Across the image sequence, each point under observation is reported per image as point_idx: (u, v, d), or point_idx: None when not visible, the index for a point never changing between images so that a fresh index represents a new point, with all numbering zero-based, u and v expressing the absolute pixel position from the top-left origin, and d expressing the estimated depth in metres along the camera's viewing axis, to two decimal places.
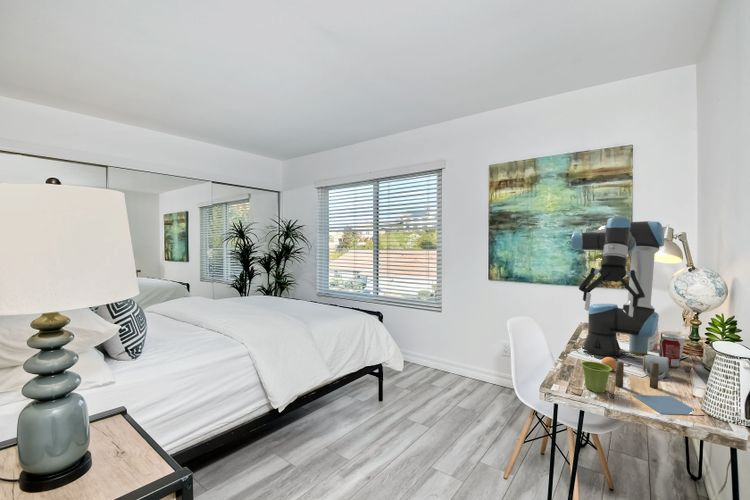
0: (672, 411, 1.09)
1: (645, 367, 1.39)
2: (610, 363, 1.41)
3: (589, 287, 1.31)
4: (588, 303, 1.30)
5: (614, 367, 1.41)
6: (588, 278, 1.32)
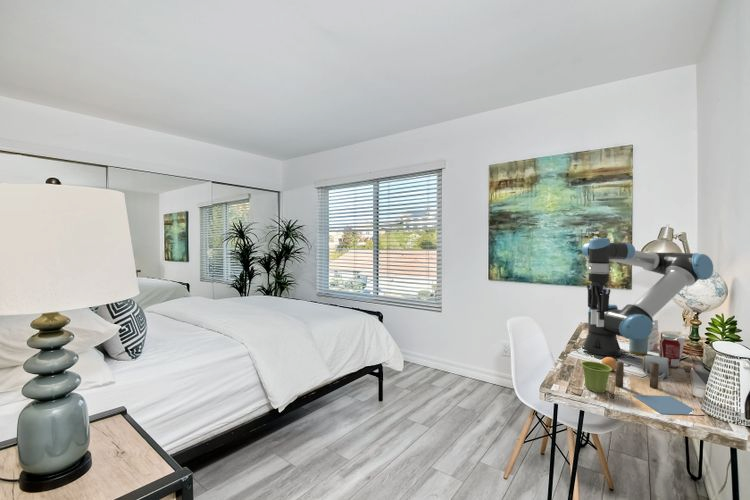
0: (672, 411, 1.09)
1: (645, 367, 1.39)
2: (610, 363, 1.41)
3: (591, 304, 1.55)
4: (594, 318, 1.54)
5: (614, 367, 1.41)
6: (588, 295, 1.57)
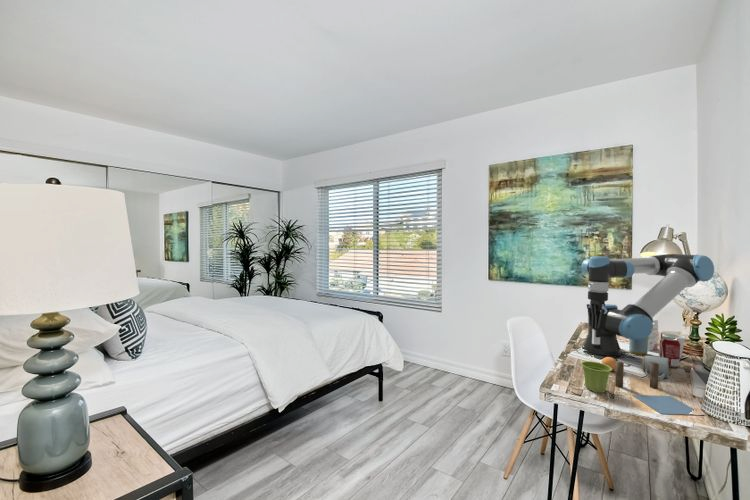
0: (672, 411, 1.09)
1: (645, 367, 1.39)
2: (610, 363, 1.41)
3: (592, 323, 1.54)
4: None
5: (614, 367, 1.41)
6: (589, 314, 1.56)
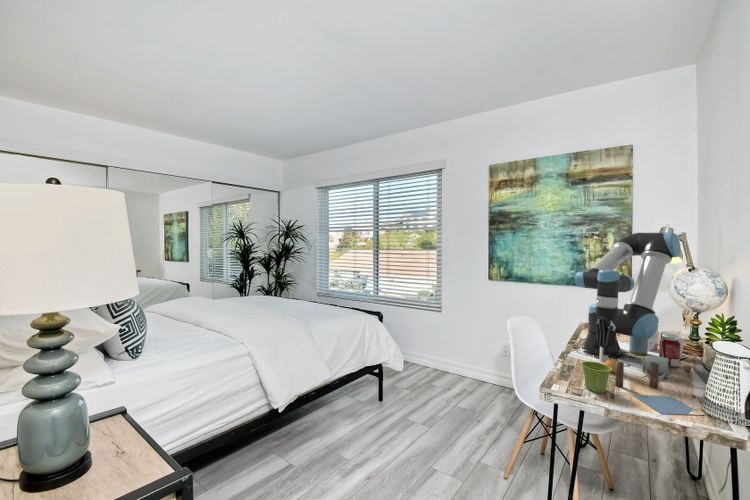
0: (672, 411, 1.09)
1: (645, 368, 1.39)
2: (613, 368, 1.39)
3: (600, 340, 1.46)
4: None
5: None
6: (597, 330, 1.49)
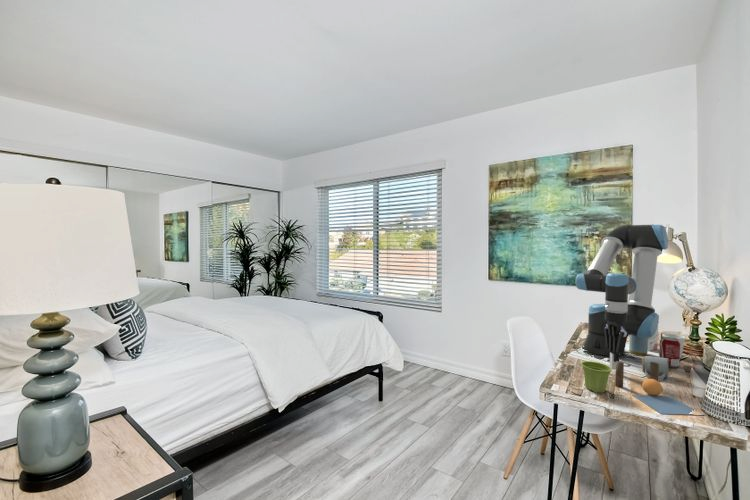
0: (672, 411, 1.09)
1: (644, 368, 1.38)
2: None
3: (609, 345, 1.42)
4: None
5: None
6: (605, 335, 1.44)
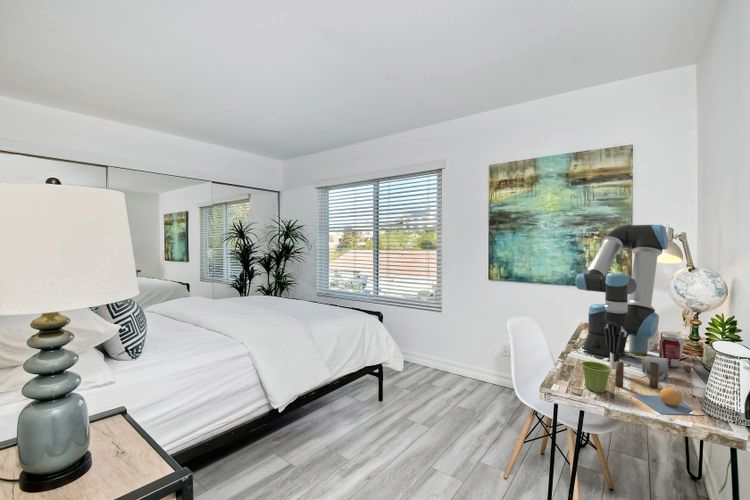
0: (672, 411, 1.09)
1: (644, 368, 1.38)
2: (663, 389, 1.15)
3: (609, 345, 1.42)
4: None
5: (671, 389, 1.13)
6: (605, 335, 1.44)
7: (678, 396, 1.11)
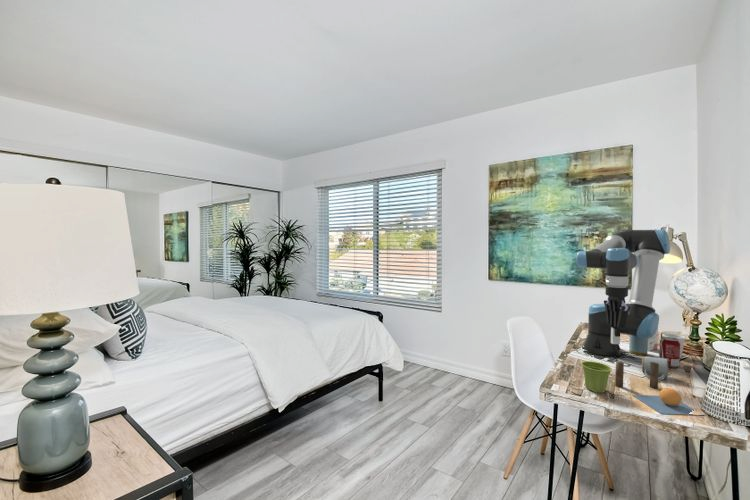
0: (672, 411, 1.09)
1: (644, 368, 1.38)
2: (663, 389, 1.15)
3: (610, 321, 1.41)
4: None
5: (671, 389, 1.13)
6: (606, 311, 1.44)
7: (678, 396, 1.11)
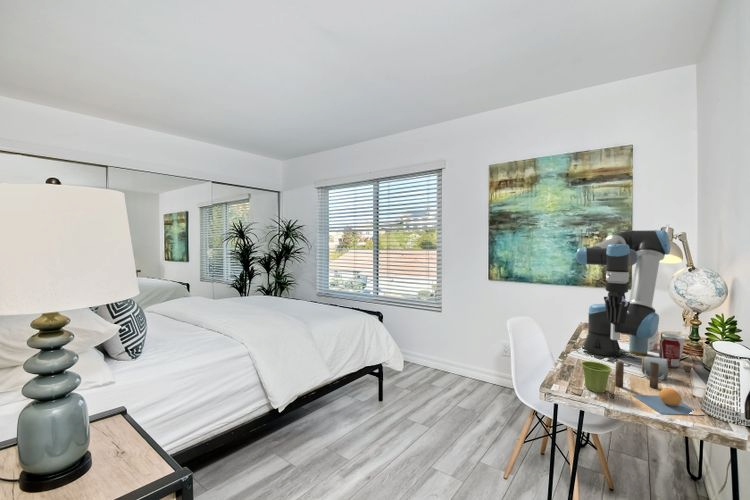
0: (672, 411, 1.09)
1: (644, 369, 1.37)
2: (663, 389, 1.15)
3: (610, 316, 1.41)
4: None
5: (671, 389, 1.13)
6: (606, 307, 1.44)
7: (678, 396, 1.11)
